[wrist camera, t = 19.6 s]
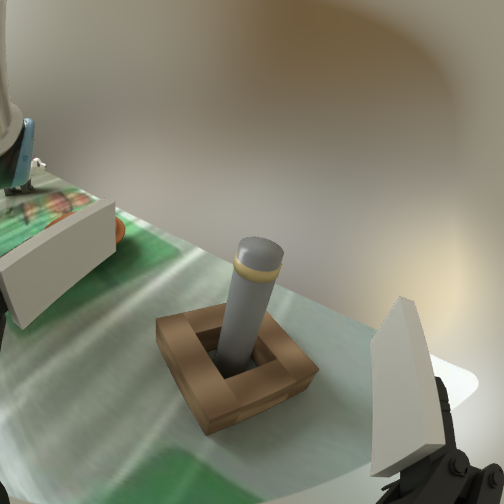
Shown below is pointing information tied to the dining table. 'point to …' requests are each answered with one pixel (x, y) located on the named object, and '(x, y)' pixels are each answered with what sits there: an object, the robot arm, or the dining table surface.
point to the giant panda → (35, 169)
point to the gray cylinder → (247, 302)
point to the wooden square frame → (237, 387)
